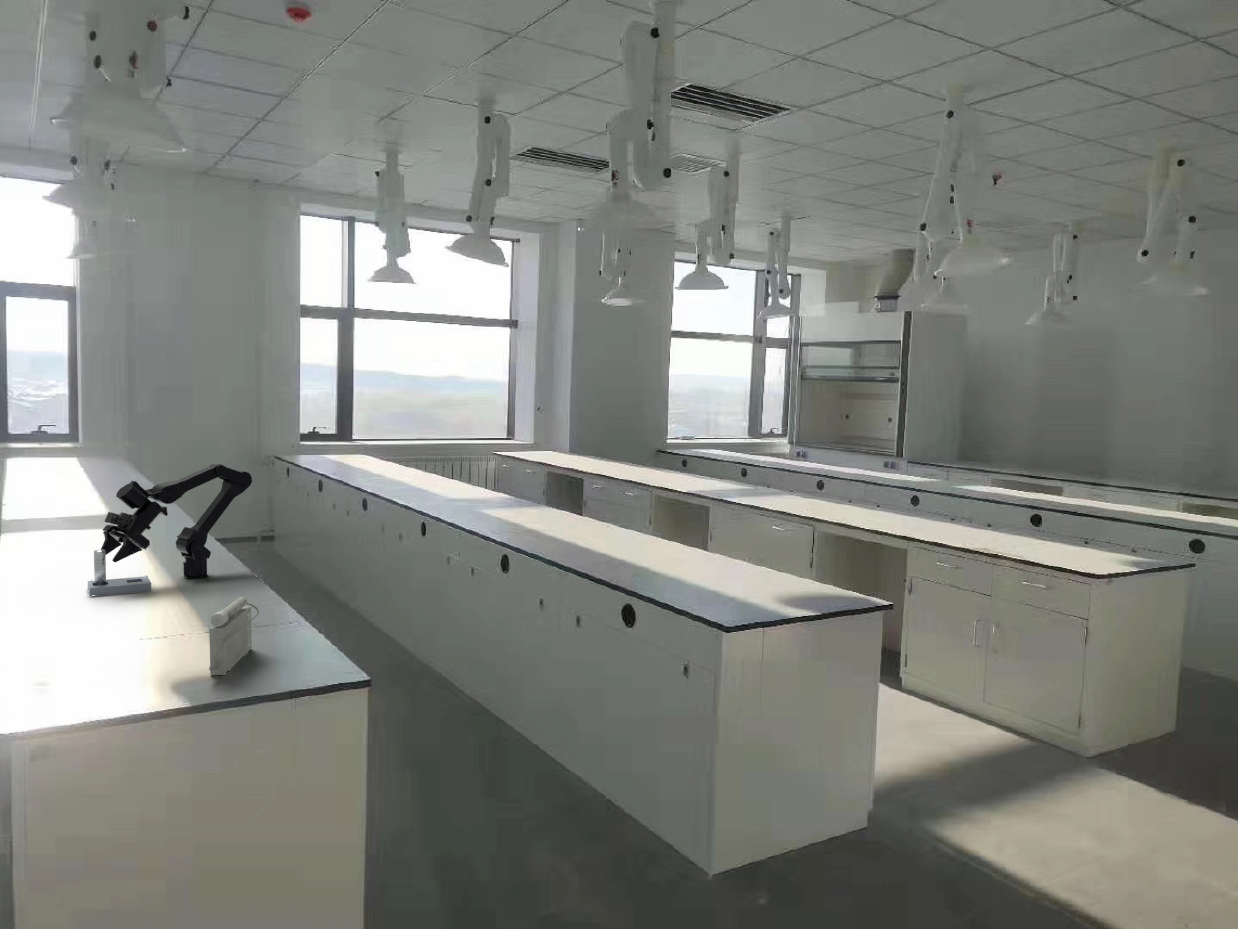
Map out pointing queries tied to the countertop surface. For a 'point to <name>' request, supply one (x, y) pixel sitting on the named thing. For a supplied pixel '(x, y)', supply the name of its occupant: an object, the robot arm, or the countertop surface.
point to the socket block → (120, 586)
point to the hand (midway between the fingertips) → (106, 559)
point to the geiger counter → (230, 636)
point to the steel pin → (100, 567)
